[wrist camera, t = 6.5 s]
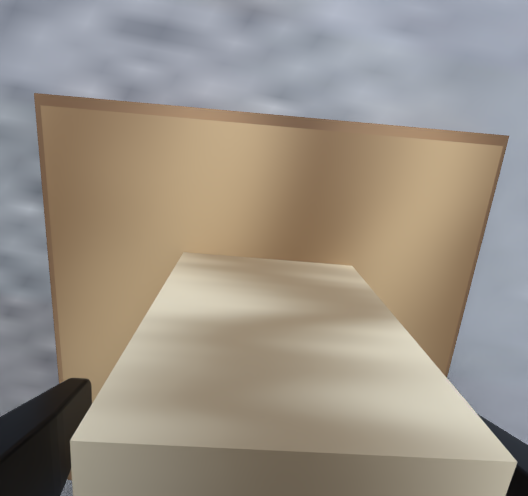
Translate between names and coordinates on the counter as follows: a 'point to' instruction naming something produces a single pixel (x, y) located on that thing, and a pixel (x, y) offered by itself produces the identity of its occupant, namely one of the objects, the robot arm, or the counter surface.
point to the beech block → (279, 395)
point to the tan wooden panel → (252, 211)
